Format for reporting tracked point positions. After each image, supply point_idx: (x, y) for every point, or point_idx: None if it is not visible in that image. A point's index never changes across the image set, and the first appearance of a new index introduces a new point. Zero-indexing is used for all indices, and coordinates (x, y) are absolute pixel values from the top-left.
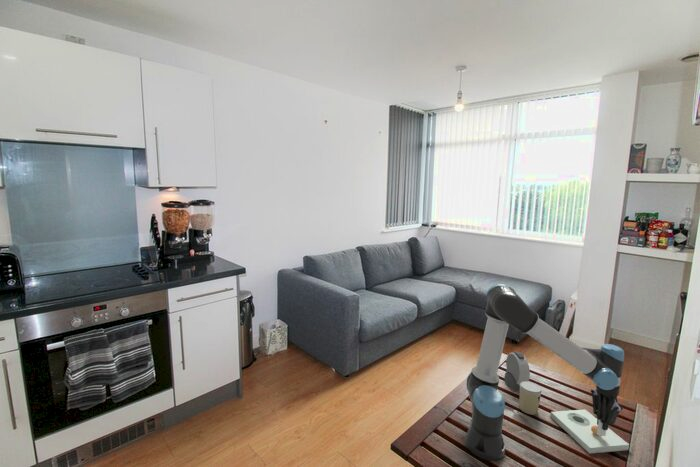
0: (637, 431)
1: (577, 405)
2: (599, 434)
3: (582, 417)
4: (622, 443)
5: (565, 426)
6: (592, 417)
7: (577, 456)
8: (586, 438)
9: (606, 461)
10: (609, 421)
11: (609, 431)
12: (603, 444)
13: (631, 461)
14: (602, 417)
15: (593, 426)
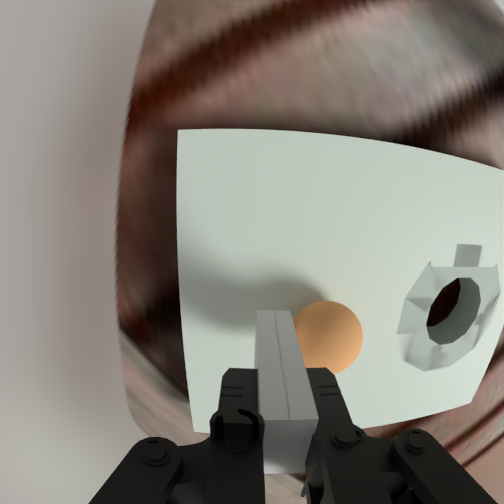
0: (298, 494)
1: (491, 389)
2: (260, 315)
3: (452, 351)
4: (202, 409)
5: (433, 152)
6: (426, 405)
7: (182, 38)
8: (285, 193)
9: (117, 201)
10: (109, 487)
11: None
12: (201, 282)
13: (120, 352)
14: (312, 476)
15: (347, 334)
